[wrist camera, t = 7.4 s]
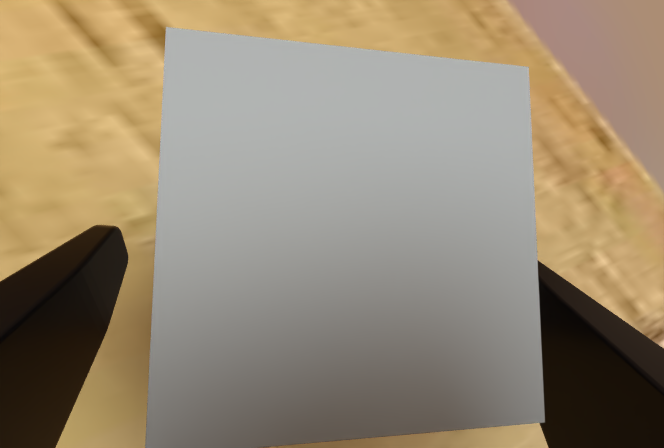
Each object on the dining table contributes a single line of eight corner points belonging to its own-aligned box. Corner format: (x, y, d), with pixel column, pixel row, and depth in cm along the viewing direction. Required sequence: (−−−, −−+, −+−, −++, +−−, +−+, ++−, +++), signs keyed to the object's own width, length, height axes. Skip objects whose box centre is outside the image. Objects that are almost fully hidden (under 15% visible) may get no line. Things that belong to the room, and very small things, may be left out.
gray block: (348, 301, 16) (545, 422, 5) (239, 304, 16) (144, 457, 4) (348, 197, 17) (528, 66, 5) (243, 193, 16) (166, 27, 4)
